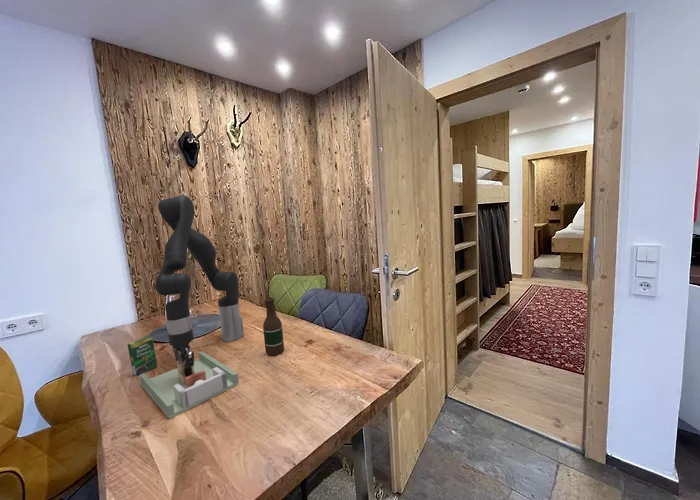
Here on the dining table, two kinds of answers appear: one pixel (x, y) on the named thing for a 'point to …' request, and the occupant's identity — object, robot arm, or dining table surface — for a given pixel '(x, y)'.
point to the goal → (200, 389)
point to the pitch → (163, 384)
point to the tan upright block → (190, 379)
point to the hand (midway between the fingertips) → (186, 374)
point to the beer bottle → (272, 330)
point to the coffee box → (142, 355)
